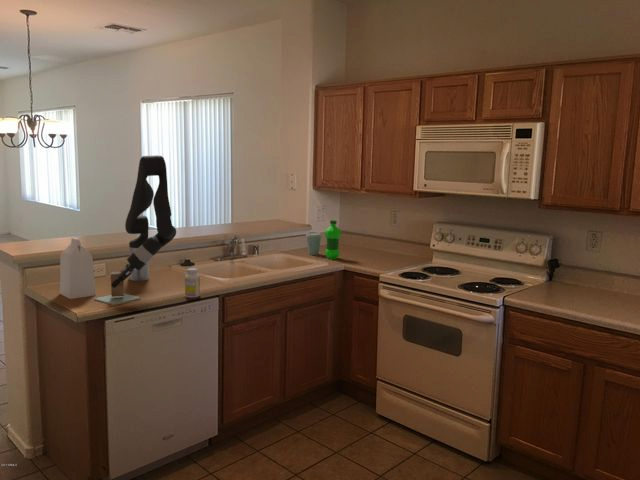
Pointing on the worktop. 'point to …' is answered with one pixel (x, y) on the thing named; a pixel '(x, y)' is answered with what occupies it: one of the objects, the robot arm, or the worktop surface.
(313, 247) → the disposable coffee cup
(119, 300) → the sage board
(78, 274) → the milk
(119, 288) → the walnut block
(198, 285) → the supplement bottle
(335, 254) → the plastic bottle
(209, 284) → the worktop surface
